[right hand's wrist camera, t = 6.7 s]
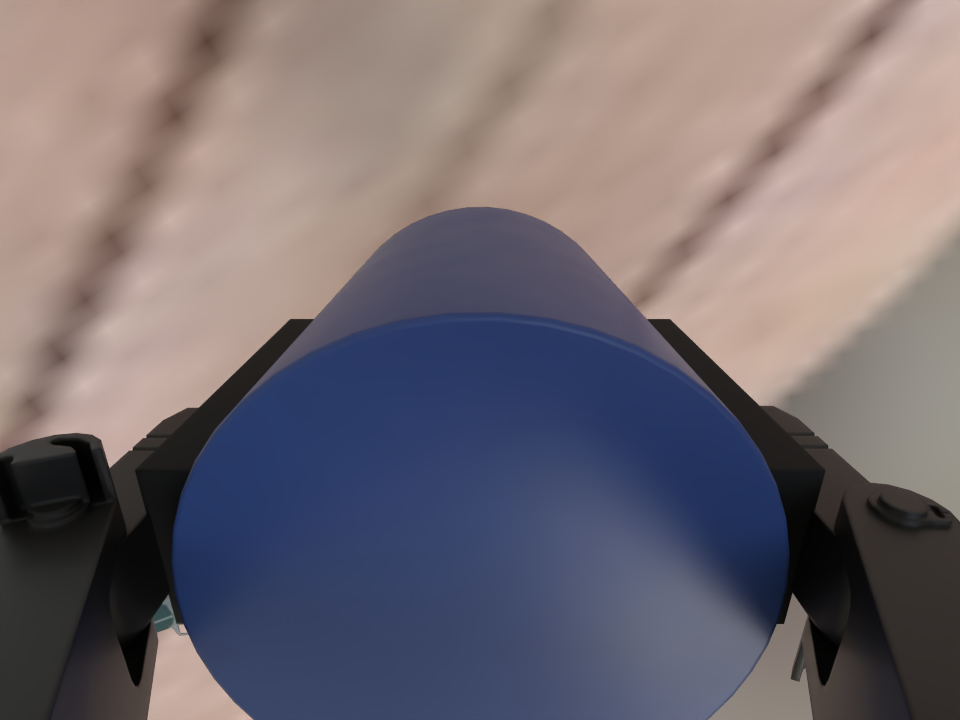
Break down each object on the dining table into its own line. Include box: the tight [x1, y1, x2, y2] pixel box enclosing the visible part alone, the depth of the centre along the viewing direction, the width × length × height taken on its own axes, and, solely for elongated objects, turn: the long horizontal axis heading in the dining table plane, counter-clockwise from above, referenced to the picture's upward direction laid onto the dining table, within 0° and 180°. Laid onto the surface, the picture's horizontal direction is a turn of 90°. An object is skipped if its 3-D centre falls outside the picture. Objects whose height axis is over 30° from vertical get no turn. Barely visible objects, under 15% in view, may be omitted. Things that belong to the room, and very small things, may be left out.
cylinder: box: [171, 207, 790, 720], centre depth 11 cm, size 8×8×9 cm
